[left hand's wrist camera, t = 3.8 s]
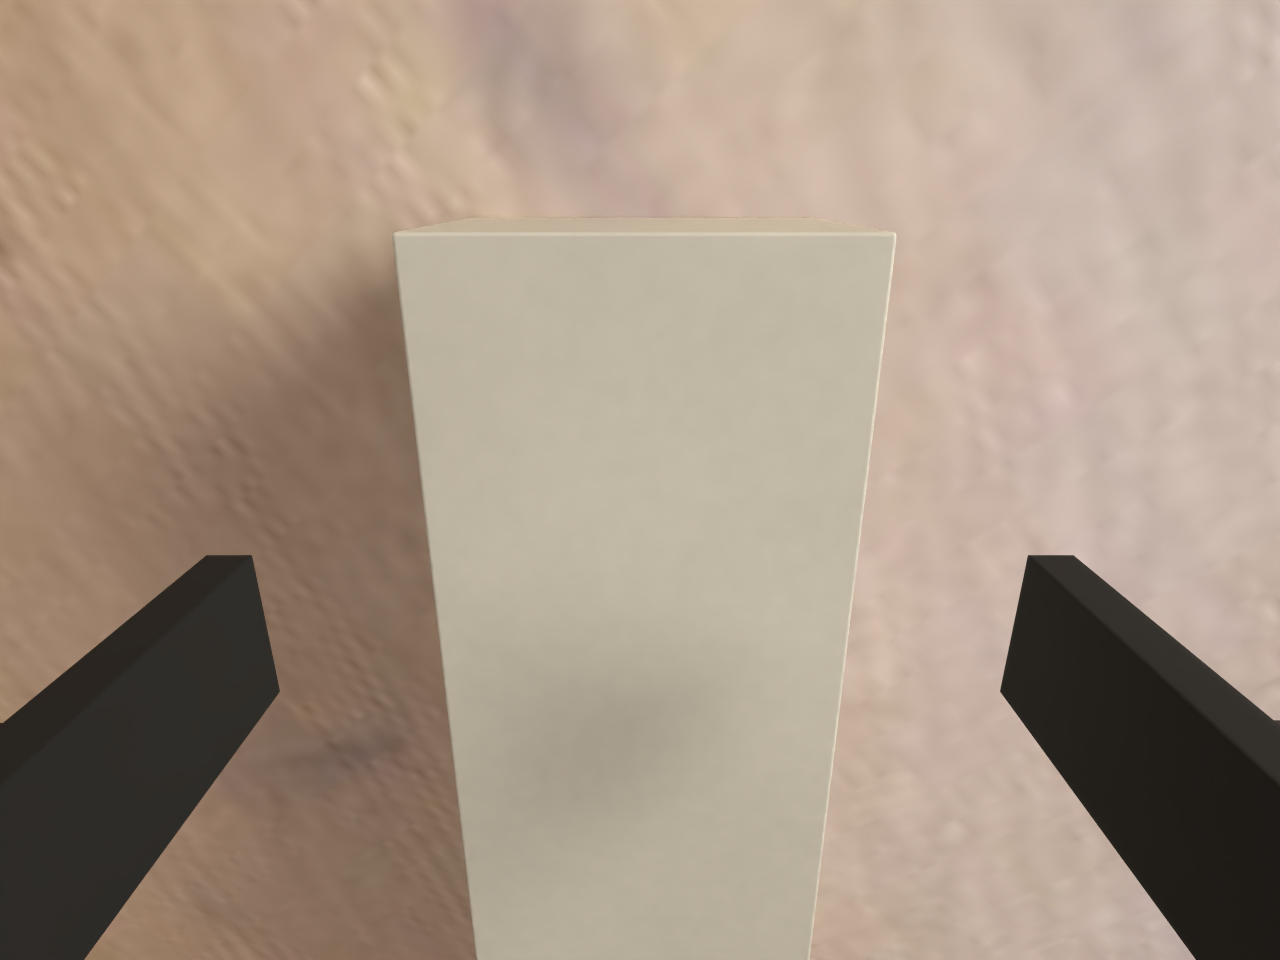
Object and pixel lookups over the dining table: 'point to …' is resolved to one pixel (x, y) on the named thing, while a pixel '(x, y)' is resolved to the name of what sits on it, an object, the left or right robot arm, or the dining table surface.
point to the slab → (643, 564)
